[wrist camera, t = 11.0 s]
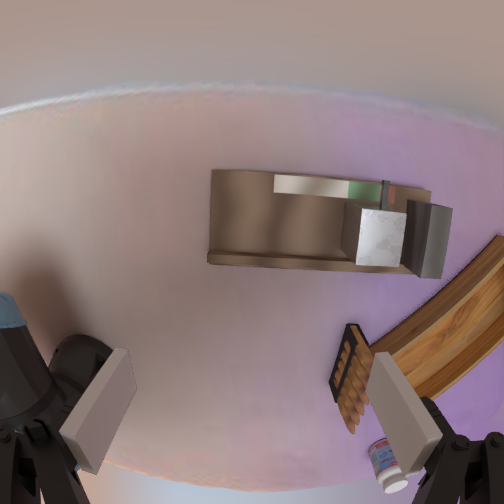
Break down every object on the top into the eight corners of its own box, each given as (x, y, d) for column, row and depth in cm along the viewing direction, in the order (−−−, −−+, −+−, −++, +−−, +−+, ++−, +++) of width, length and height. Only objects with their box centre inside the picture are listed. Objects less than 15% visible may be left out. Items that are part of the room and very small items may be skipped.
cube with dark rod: (340, 249, 35) (355, 265, 29) (347, 176, 32) (364, 177, 27) (378, 252, 35) (398, 267, 29) (386, 181, 32) (409, 184, 27)
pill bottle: (399, 434, 46) (417, 474, 35) (390, 452, 48) (405, 491, 37) (372, 439, 46) (387, 482, 35) (364, 456, 48) (376, 497, 37)
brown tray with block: (211, 259, 38) (199, 281, 30) (214, 170, 35) (201, 169, 27) (412, 269, 37) (441, 291, 30) (423, 189, 35) (457, 195, 27)
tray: (388, 404, 44) (398, 426, 39) (350, 356, 42) (360, 379, 36) (513, 298, 39) (532, 310, 33) (495, 233, 36) (517, 241, 30)
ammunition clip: (346, 323, 40) (373, 374, 28) (358, 323, 40) (388, 374, 28) (328, 382, 42) (344, 439, 31) (339, 383, 42) (357, 438, 31)
